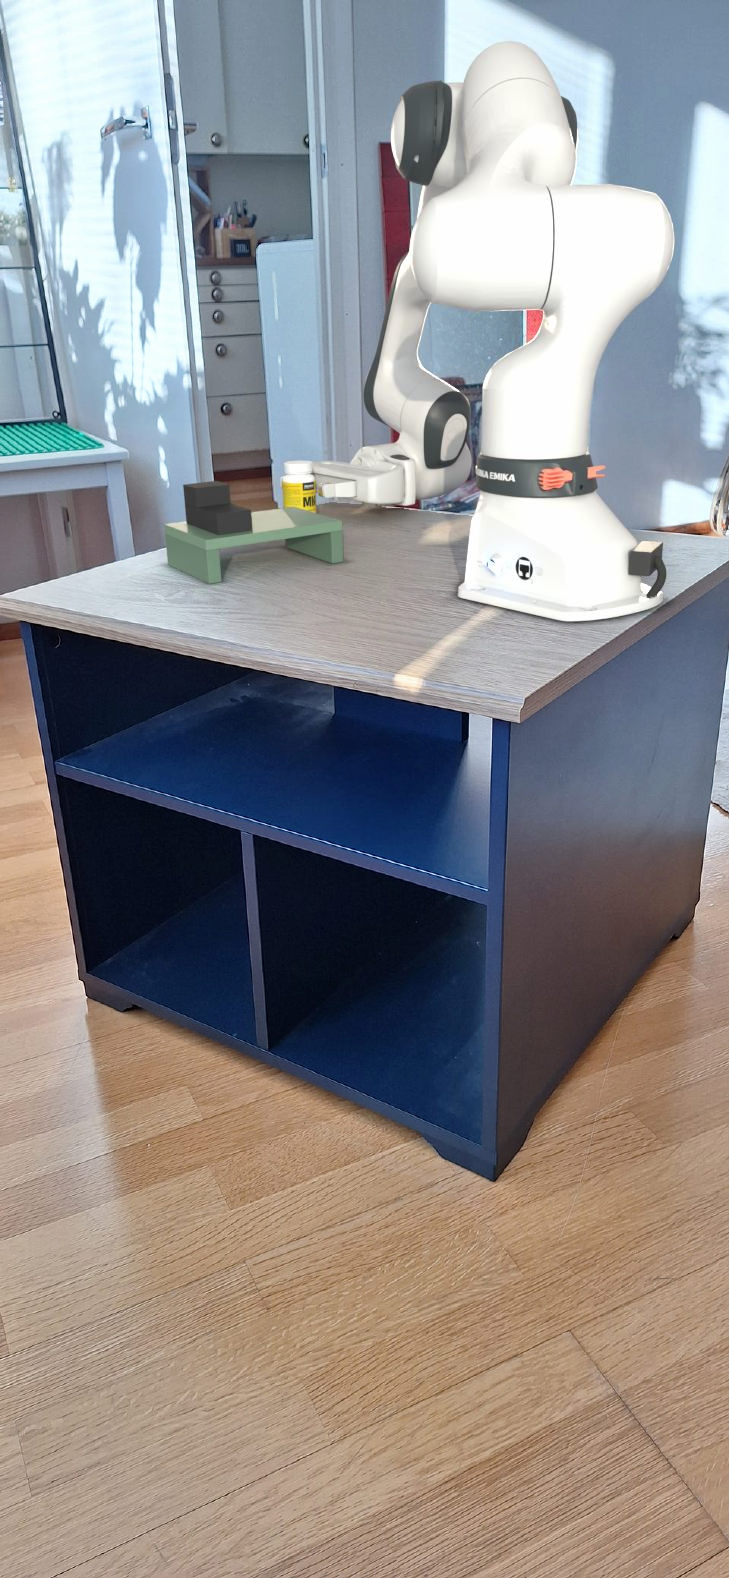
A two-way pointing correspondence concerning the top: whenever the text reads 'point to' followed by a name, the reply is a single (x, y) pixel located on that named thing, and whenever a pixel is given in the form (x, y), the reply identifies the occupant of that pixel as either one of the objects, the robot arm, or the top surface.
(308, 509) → the supplement bottle
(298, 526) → the block
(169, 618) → the top surface
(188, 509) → the dark stepped block
